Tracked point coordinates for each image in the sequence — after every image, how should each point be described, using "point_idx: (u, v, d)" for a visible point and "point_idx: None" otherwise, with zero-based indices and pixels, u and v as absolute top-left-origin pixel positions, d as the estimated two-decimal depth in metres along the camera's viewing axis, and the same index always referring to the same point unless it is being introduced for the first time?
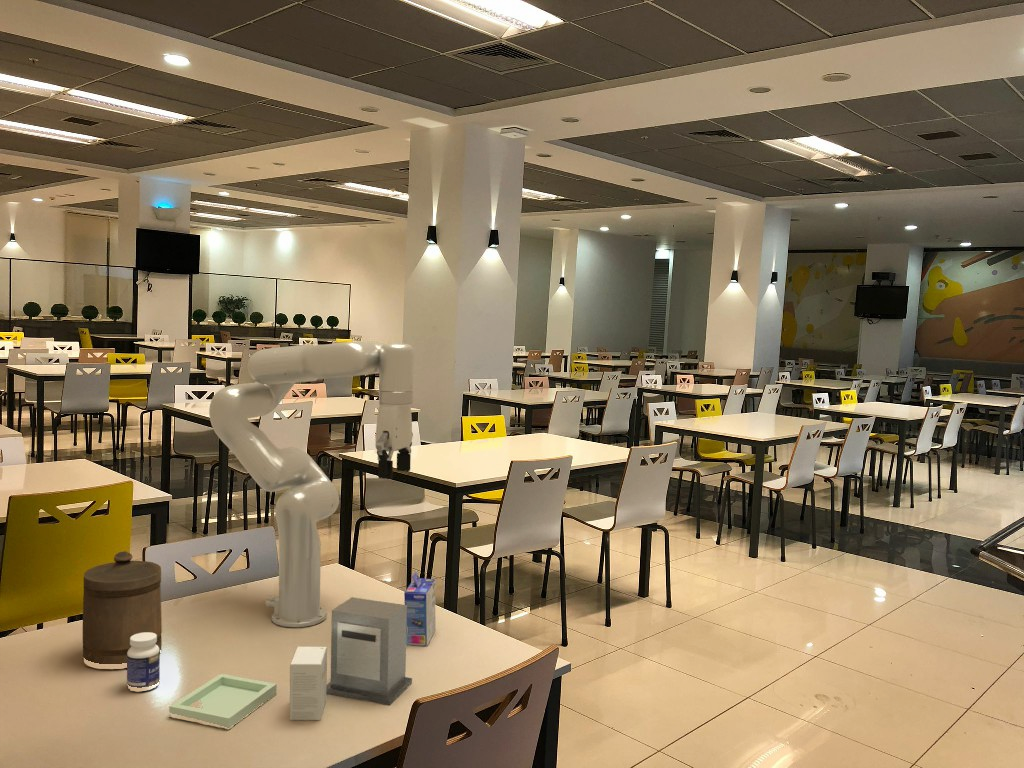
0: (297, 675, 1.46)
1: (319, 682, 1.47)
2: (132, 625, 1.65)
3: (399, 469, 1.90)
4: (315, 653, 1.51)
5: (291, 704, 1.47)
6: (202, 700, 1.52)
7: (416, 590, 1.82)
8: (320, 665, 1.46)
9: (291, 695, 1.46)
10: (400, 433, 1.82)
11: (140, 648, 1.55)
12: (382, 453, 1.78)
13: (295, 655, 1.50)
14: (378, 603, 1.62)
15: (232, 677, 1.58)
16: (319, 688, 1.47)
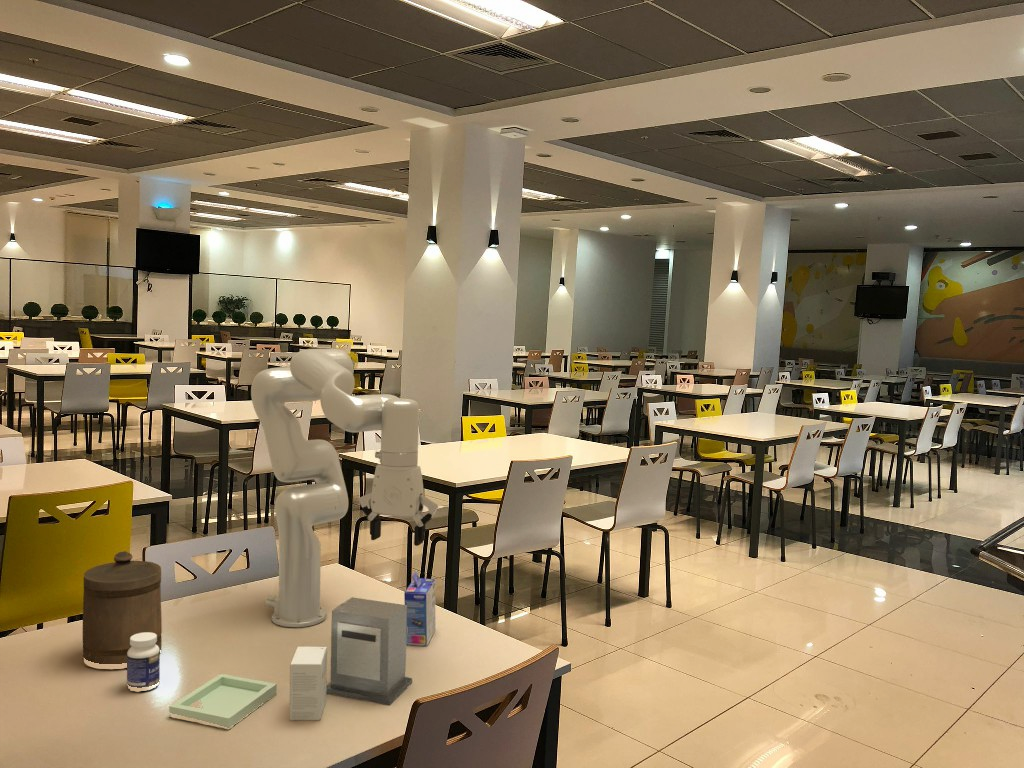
0: (297, 675, 1.46)
1: (319, 682, 1.47)
2: (132, 625, 1.65)
3: (375, 538, 1.70)
4: (316, 653, 1.51)
5: (291, 704, 1.47)
6: (202, 700, 1.52)
7: (416, 590, 1.82)
8: (320, 665, 1.46)
9: (291, 695, 1.46)
10: None
11: (140, 648, 1.55)
12: (433, 516, 1.68)
13: (295, 655, 1.50)
14: (378, 603, 1.62)
15: (232, 677, 1.58)
16: (319, 688, 1.47)
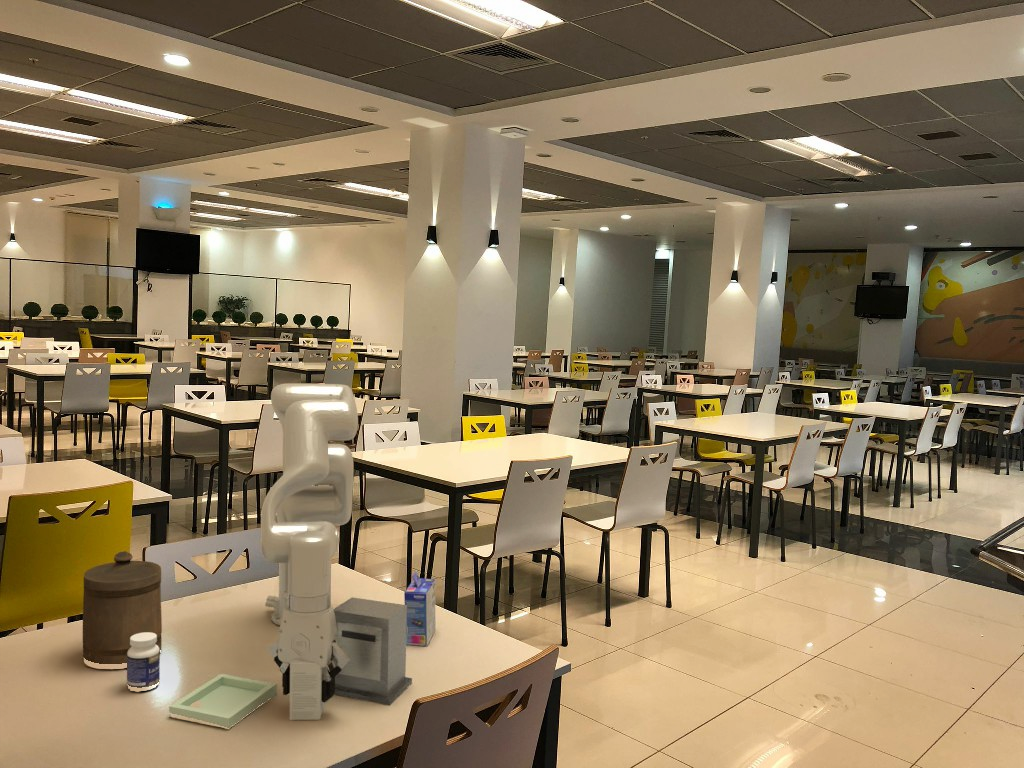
0: (297, 675, 1.46)
1: (319, 682, 1.47)
2: (132, 625, 1.65)
3: (288, 692, 1.51)
4: None
5: (291, 704, 1.46)
6: (202, 700, 1.52)
7: (416, 590, 1.82)
8: None
9: (291, 695, 1.46)
10: None
11: (140, 648, 1.55)
12: (342, 669, 1.49)
13: None
14: (378, 603, 1.62)
15: (232, 677, 1.58)
16: (319, 688, 1.47)
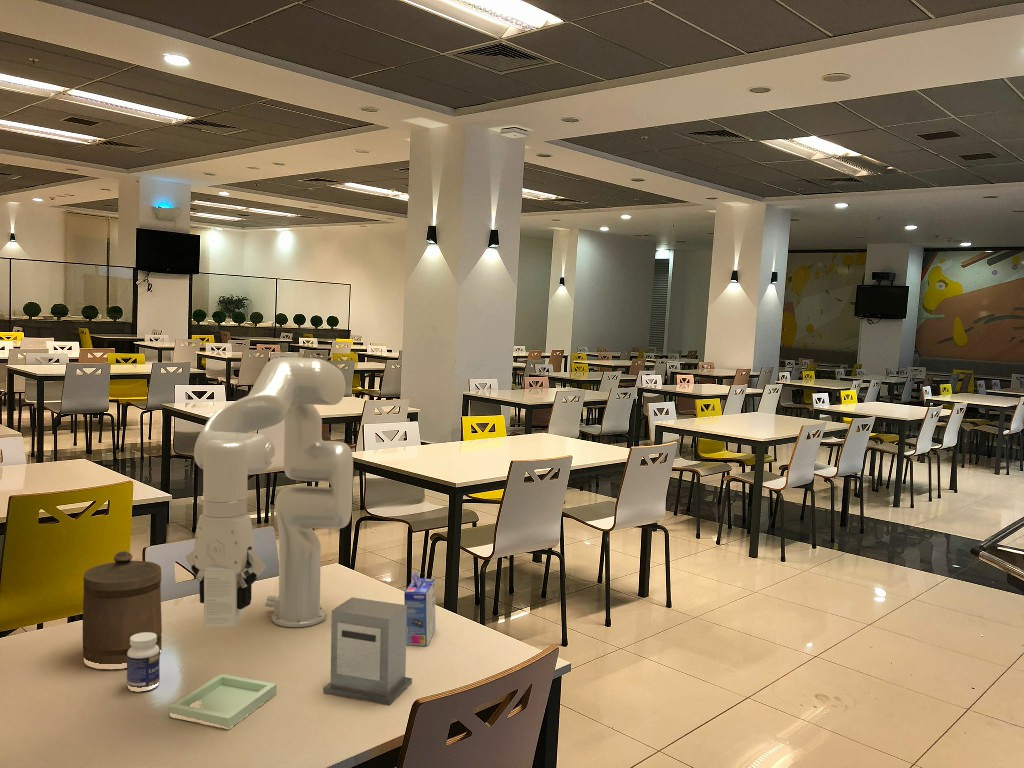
0: (211, 580, 1.45)
1: (233, 588, 1.46)
2: (132, 625, 1.65)
3: None
4: None
5: (205, 610, 1.46)
6: (202, 700, 1.52)
7: (416, 590, 1.82)
8: (234, 571, 1.46)
9: (205, 601, 1.46)
10: None
11: (140, 648, 1.55)
12: (258, 576, 1.48)
13: None
14: (378, 603, 1.62)
15: (232, 677, 1.58)
16: (233, 594, 1.46)
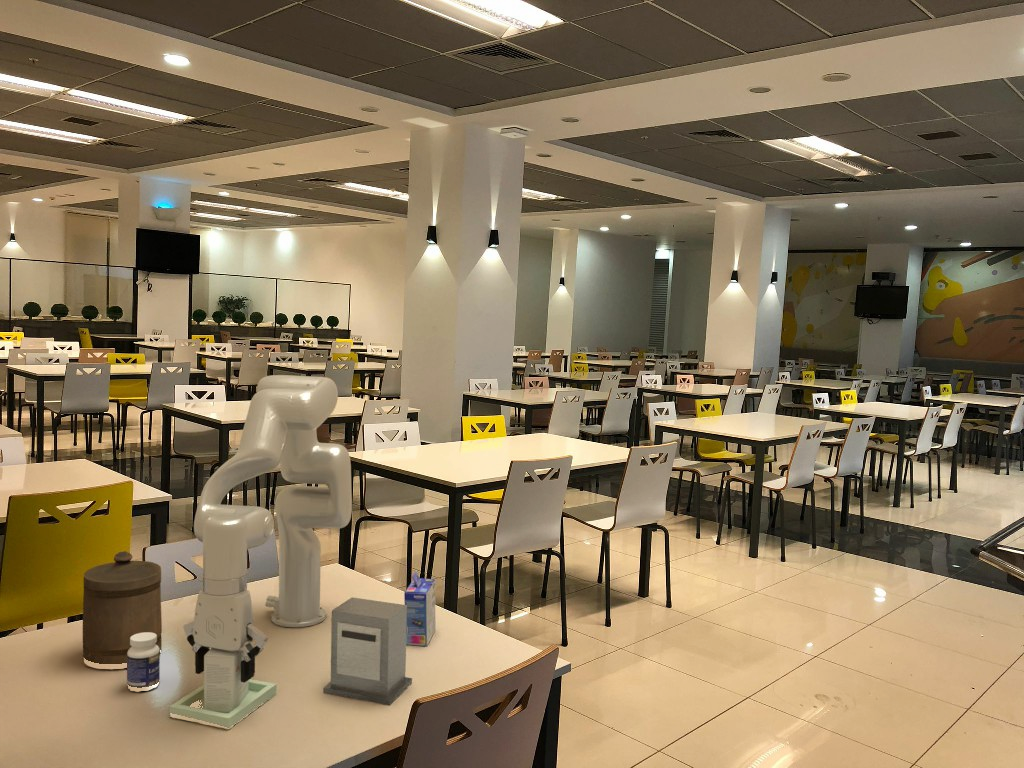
0: (211, 666, 1.47)
1: (232, 675, 1.47)
2: (132, 625, 1.65)
3: (201, 671, 1.51)
4: None
5: (205, 695, 1.47)
6: (202, 700, 1.52)
7: (416, 590, 1.82)
8: (233, 658, 1.47)
9: (205, 686, 1.47)
10: None
11: (140, 648, 1.55)
12: (262, 648, 1.49)
13: None
14: (378, 603, 1.62)
15: None
16: (232, 681, 1.47)
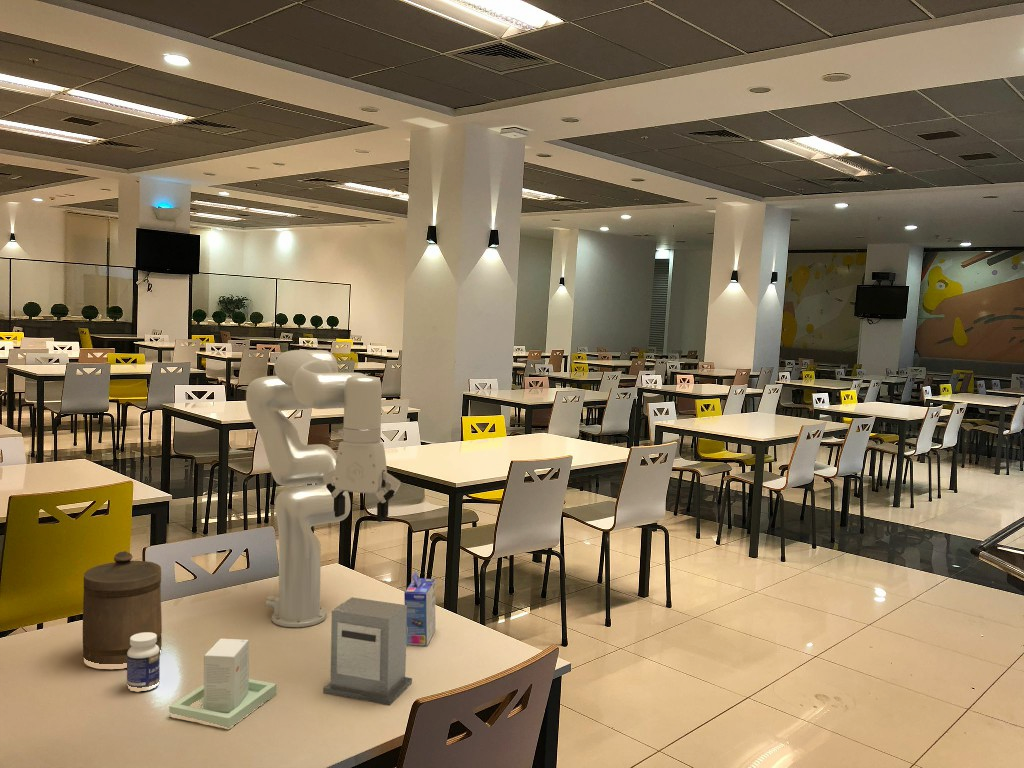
0: (211, 666, 1.47)
1: (232, 675, 1.47)
2: (132, 624, 1.65)
3: (339, 515, 1.71)
4: (234, 646, 1.51)
5: (205, 695, 1.47)
6: (202, 700, 1.52)
7: (416, 590, 1.82)
8: (233, 658, 1.47)
9: (205, 686, 1.47)
10: None
11: (140, 648, 1.55)
12: (395, 492, 1.69)
13: (213, 647, 1.50)
14: (378, 603, 1.62)
15: None
16: (232, 681, 1.47)
